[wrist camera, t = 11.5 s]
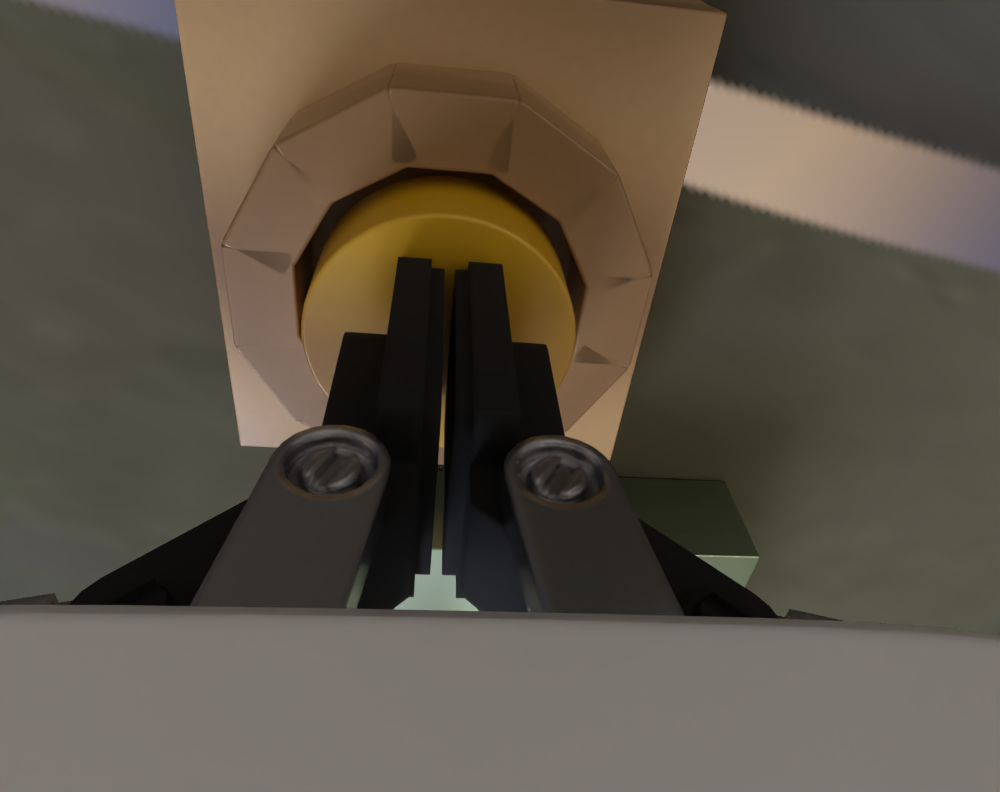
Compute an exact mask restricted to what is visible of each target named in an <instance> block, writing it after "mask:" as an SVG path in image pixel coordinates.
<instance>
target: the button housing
mask: <svg viewBox="0 0 1000 792" xmlns="http://www.w3.org/2000/svg"><path fill="white" fill-rule="evenodd" d="M174 2H175V9H176V16H177V23H178V29H179V36H180V43H181V50H182V56H183V63H184V70H185V76H186V83H187V90H188V97H189V103H190V110H191V117H192V123H193V130H194V137H195V144H196V150H197V157H198V164H199V170H200V177H201V184H202V191H203V197H204V204H205V211H206V217H207V224H208V231H209V238H210V244H211V251H212V258H213V264H214V271H215V278H216V285H217V291H218V298H219V305H220V311H221V318H222V325H223V332H224V338H225V345H226V352H227V358H228V365H229V372H230V379H231V385H232V392H233V399H234V405H235V412H236V419H237V426H238V432H239V439H240V445H241V446H257V447H279V446H280V444H281V443H282V442H283V441H285V440H286V439H288V438H289V437H291V436H292V435H294V434H295V433H298V432H301V431H303V430H306V429H309V428H312V427H318V426H322V423H323V419H324V415H325V410H326V406H327V402H328V397H327V396H326V395H325V394H324V392H323V391H322V389H321V388H320V386H319V385H318V383H317V382H316V380H315V378H314V376H313V374H312V372H311V370H310V368H309V365H308V363H307V359H306V356H305V353H304V349H303V342H302V336H301V319H302V312H303V306H304V302H305V299H306V296H307V293H308V290H309V287H310V284H311V281H312V278H313V275H314V272H315V269H316V267H317V264H318V261H319V258H320V255H321V252H322V249H323V246H324V244H325V242H326V240H327V238H328V236H329V234H330V232H331V231H332V229H333V228H334V227H335V225H336V224H337V222H338V221H339V220H340V218H341V217H342V216H343V215H344V214H345V213H346V212H347V211H348V210H349V209H350V208H351V207H352V206H354V205H355V204H356V203H358V202H359V201H360V200H361V199H363V198H364V197H366V196H367V195H369V194H371V193H373V192H374V191H376V190H378V189H380V188H382V187H385V186H387V185H390V184H392V183H395V182H398V181H402V180H406V179H410V178H416V177H425V176H451V177H458V178H465V179H469V180H473V181H476V182H480V183H483V184H486V185H488V186H490V187H493V188H495V189H497V190H500V191H501V192H503V193H505V194H506V195H508V196H510V197H511V198H513V199H515V200H516V201H517V202H518V203H520V204H521V205H522V206H523V207H525V208H526V209H527V210H528V211H529V212H530V213H531V214H532V215H533V216H534V217H535V218H536V219H537V220H538V221H539V222H540V224H541V225H542V227H543V228H544V229H545V231H546V232H547V234H548V235H549V237H550V239H551V241H552V243H553V245H554V247H555V249H556V252H557V255H558V257H559V260H560V263H561V267H562V270H563V274H564V277H565V281H566V284H567V288H568V291H569V294H570V298H571V301H572V305H573V310H574V315H575V323H576V339H575V347H574V353H573V356H572V360H571V363H570V366H569V369H568V371H567V373H566V375H565V378H564V380H563V381H562V383H561V385H560V386H559V388H558V389H557V391H556V393H557V398H558V403H559V408H560V414H561V419H562V424H563V429H564V434H565V436H566V437H570V438H574V439H578V440H580V441H582V442H584V443H587V444H589V445H591V446H593V447H594V448H596V449H597V450H598V451H599V452H601V453H602V454H603V455H604V456H606V458H607V459H608V460H610V459H611V455H612V452H613V448H614V444H615V440H616V436H617V433H618V429H619V425H620V421H621V417H622V414H623V410H624V406H625V402H626V398H627V395H628V391H629V387H630V383H631V379H632V375H633V372H634V368H635V364H636V360H637V356H638V353H639V349H640V345H641V341H642V337H643V334H644V330H645V326H646V322H647V318H648V315H649V311H650V307H651V303H652V299H653V295H654V292H655V288H656V284H657V280H658V276H659V273H660V269H661V265H662V261H663V257H664V254H665V250H666V246H667V242H668V238H669V235H670V231H671V227H672V223H673V219H674V215H675V212H676V208H677V204H678V200H679V196H680V193H681V189H682V185H683V181H684V177H685V174H686V170H687V166H688V162H689V158H690V155H691V151H692V147H693V143H694V139H695V136H696V132H697V128H698V124H699V120H700V116H701V113H702V109H703V105H704V101H705V97H706V93H707V90H708V86H709V82H710V78H711V75H712V71H713V67H714V63H715V59H716V56H717V52H718V48H719V44H720V40H721V36H722V33H723V29H724V25H725V21H726V17H727V14H726V13H725V12H722V11H720V10H718V9H716V8H714V7H712V6H710V5H708V4H706V3H704V2H702V1H700V0H174ZM438 465H444V447H439V455H438Z"/></svg>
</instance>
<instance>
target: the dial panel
mask: <svg viewBox="0 0 1000 792" xmlns="http://www.w3.org/2000/svg"><path fill="white" fill-rule="evenodd" d="M443 473H444V471H437V484H436V498H435V512H434V527H433V541H432V555H431V569H430V575H418V574H415V586H414V597H409V598H407V599H406V600H405V601H403V602H402V603H401V604H399V605H398V606H397V607H395V608H394V609H395V610H447V611H479V610H478V609H477V608H476V607H474V606H473V605H472V604H471V603H470V602H469V601H467V600H466V599H465V598H456V575H442V531H443ZM618 478H619V477H618ZM619 480H620V482H621V484H622V486H623V488H624V490H625V492H626V494H627V496H628V499H629V501H630V503H631V505H632V507H633V509H634V511H635V513H636V515H637V517H638V518H639V519H641V520H642V521H644V522H645V523H647V524H648V525H650V526H651V527H653V528H654V529H656V530H658V531H659V532H661V533H662V534H664V535H665V536H667V537H668V538H670V539H671V540H673V541H674V542H676V543H677V544H679V545H680V546H682V547H684V548H685V549H687V550H688V551H690V552H691V553H693V554H694V555H696V556H697V557H699V558H700V559H702V560H703V561H705V562H707V563H708V564H710V565H711V566H713V567H714V568H716V569H717V570H719V571H720V572H722V573H723V574H725V575H726V576H728V577H729V578H731V579H733V580H734V581H736V582H737V583H739V584H740V585H742V586H743V587H746V585H747V583H748V581H749V578H750V576H751V574H752V572H753V570H754V568H755V566H756V564H757V562H758V560H759V555H758V553H757V551H756V548H755V546H754V544H753V542H752V540H751V537H750V535H749V533H748V531H747V529H746V527H745V524H744V522H743V520H742V518H741V516H740V513H739V511H738V509H737V507H736V505H735V503H734V500H733V498H732V496H731V494H730V492H729V489H728V487H727V485H726V483H725V482H724V481H699V480H672V479H646V478H619Z"/></svg>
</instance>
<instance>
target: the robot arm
mask: <svg viewBox="0 0 1000 792" xmlns="http://www.w3.org/2000/svg"><path fill="white" fill-rule="evenodd" d="M444 280H445V269H440V268H432V259H426V258H412V257H398V262H397V268H396V275H395V282H394V289H393V296H392V303H391V310H390V317H389V324H388V331H387V334H374V333H358V332H345V333H344V336H343V339H342V343H341V347H340V352H339V356H338V360H337V364H336V368H335V373H334V377H333V381H332V385H331V389H330V394H329V398H328V402H327V406H326V410H325V415H324V419H323V423H322V426H318V427H312V428H309V429H306V430H303V431H301V432H298V433H295V434H294V435H292V436H291V437H289V438H288V439H286V440H285V441H283V442H282V443H281V444H280V446H279V447H278V448H277V449H276V451H275V452H274V453H273V454H272V456H271V458H270V460H269V462H268V464H267V465H266V467H265V469H264V471H263V473H262V475H261V476H260V478H259V480H258V482H257V484H256V486H255V487H254V489H253V491H252V493H251V495H250V496H249V498H248V499H247V500H245V501H243V502H242V503H240V504H238V505H236V506H234V507H232V508H230V509H229V510H227V511H225V512H223V513H221V514H219V515H217V516H215V517H214V518H212V519H210V520H208V521H206V522H204V523H202V524H201V525H199V526H197V527H195V528H193V529H191V530H189V531H188V532H186V533H184V534H182V535H180V536H178V537H176V538H175V539H173V540H171V541H169V542H167V543H165V544H163V545H162V546H160V547H158V548H156V549H154V550H152V551H150V552H149V553H147V554H145V555H143V556H141V557H139V558H137V559H136V560H134V561H132V562H130V563H128V564H126V565H124V566H123V567H121V568H119V569H117V570H115V571H113V572H111V573H109V574H108V575H106V576H104V577H102V578H100V579H99V580H98V581H96V582H95V583H93V584H92V585H90V586H89V587H87V588H86V589H84V590H83V591H81V592H80V594H79V595H78V596H77V597H76V598H75V599H74V600H73V601H66V602H60V603H59V602H58V600H57V598H56V595H55V593H53V594H46V595H40V596H34V597H27V598H21V599H14V600H8V601H1V602H0V792H1000V636H999V635H993V634H986V633H978V632H971V631H964V630H957V629H951V628H944V627H931V626H915V625H899V624H886V623H872V622H852V621H842V620H837V619H833V618H828V617H824V616H819V615H814V614H810V613H805V612H801V611H796V610H792V609H789V611H788V613H787V614H786V616H785V617H781V616H777V615H776V614H775V613H774V611H773V610H772V609H771V607H770V606H769V605H767V604H766V603H765V602H764V601H762V600H761V599H760V598H759V597H758V596H756V595H755V594H754V593H752V592H751V591H749V590H748V589H746V588H745V587H743V586H742V585H740V584H739V583H737V582H736V581H734V580H733V579H731V578H729V577H728V576H726V575H725V574H723V573H722V572H720V571H719V570H717V569H716V568H714V567H713V566H711V565H710V564H708V563H707V562H705V561H703V560H702V559H700V558H699V557H697V556H696V555H694V554H693V553H691V552H690V551H688V550H687V549H685V548H684V547H682V546H680V545H679V544H677V543H676V542H674V541H673V540H671V539H670V538H668V537H667V536H665V535H664V534H662V533H661V532H659V531H658V530H656V529H654V528H653V527H651V526H650V525H648V524H647V523H645V522H644V521H642V520H641V519H639V518H638V517H637V515H636V513H635V511H634V509H633V507H632V505H631V503H630V501H629V499H628V496H627V494H626V492H625V490H624V488H623V486H622V484H621V482H620V480H619V478H618V476H617V473H616V471H615V469H614V467H613V466H612V465H611V463H610V462H609V460H608V459H607V458H606V456H604V455H603V454H602V453H601V452H599V451H598V450H597V449H596V448H594V447H593V446H591V445H589V444H587V443H584V442H582V441H580V440H578V439H574V438H570V437H566V436H565V434H564V429H563V424H562V419H561V414H560V408H559V403H558V398H557V393H556V388H555V383H554V378H553V373H552V368H551V363H550V358H549V353H548V349H547V345H545V344H538V343H522V342H512V337H511V329H510V321H509V313H508V305H507V297H506V289H505V281H504V273H503V266H502V264H494V263H481V262H469V264H468V270H455V278H454V291H453V305H452V318H451V332H450V346H449V359H448V373H447V386H446V400H445V418H444V473H443V531H442V575H456V598H465V599H466V600H467V601H469V602H470V603H471V604H472V605H473V606H474V607H476V608H477V609H478V610H479V611H447V610H395V609H394V608H395V607H397V606H398V605H399V604H401V603H402V602H403V601H405V600H406V599H407V598H409V597H414V586H415V574H418V575H430V569H431V555H432V541H433V527H434V512H435V498H436V484H437V470H438V455H439V441H440V426H441V407H442V368H443V324H444Z"/></svg>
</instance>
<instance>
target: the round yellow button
mask: <svg viewBox="0 0 1000 792" xmlns="http://www.w3.org/2000/svg"><path fill="white" fill-rule="evenodd" d="M398 257H412V258H426V259H432V268H440V269H445V280H444V324H443V368H442V407H441V426H440V441H439V447H444V418H445V400H446V386H447V373H448V359H449V346H450V332H451V318H452V305H453V291H454V278H455V270H468V264H469V262H481V263H494V264H502V266H503V273H504V281H505V289H506V297H507V305H508V313H509V321H510V329H511V337H512V342H522V343H538V344H545V345H547V349H548V353H549V358H550V363H551V368H552V373H553V378H554V383H555V388H556V391H557V389H558V388H559V386H560V385H561V383H562V381H563V380H564V378H565V375H566V373H567V371H568V369H569V366H570V363H571V360H572V356H573V353H574V347H575V339H576V323H575V315H574V310H573V305H572V301H571V298H570V294H569V291H568V288H567V284H566V281H565V277H564V274H563V270H562V267H561V263H560V260H559V257H558V255H557V252H556V249H555V247H554V245H553V243H552V241H551V239H550V237H549V235H548V234H547V232H546V231H545V229H544V228H543V227H542V225H541V224H540V222H539V221H538V220H537V219H536V218H535V217H534V216H533V215H532V214H531V213H530V212H529V211H528V210H527V209H526V208H525V207H523V206H522V205H521V204H520V203H518V202H517V201H516V200H515V199H513V198H511V197H510V196H508V195H506V194H505V193H503V192H501V191H500V190H497V189H495V188H493V187H490V186H488V185H486V184H483V183H480V182H476V181H473V180H469V179H465V178H458V177H451V176H425V177H416V178H410V179H406V180H402V181H398V182H395V183H392V184H390V185H387V186H385V187H382V188H380V189H378V190H376V191H374V192H373V193H371V194H369V195H367V196H366V197H364V198H363V199H361V200H360V201H359V202H358V203H356V204H355V205H354V206H352V207H351V208H350V209H349V210H348V211H347V212H346V213H345V214H344V215H343V216H342V217H341V218H340V220H339V221H338V222H337V224H336V225H335V227H334V228H333V229H332V231H331V232H330V234H329V236H328V238H327V240H326V242H325V244H324V246H323V249H322V252H321V255H320V258H319V261H318V264H317V267H316V269H315V272H314V275H313V278H312V281H311V284H310V287H309V290H308V293H307V296H306V299H305V302H304V306H303V312H302V319H301V336H302V342H303V349H304V353H305V356H306V359H307V363H308V365H309V368H310V370H311V372H312V374H313V376H314V378H315V380H316V382H317V383H318V385H319V386H320V388H321V389H322V391H323V392H324V394H325V395H326V396H327V397H328V398H329V394H330V389H331V385H332V381H333V377H334V373H335V368H336V364H337V360H338V356H339V352H340V347H341V343H342V339H343V336H344V333H345V332H358V333H374V334H387V331H388V324H389V317H390V310H391V303H392V296H393V289H394V282H395V275H396V268H397V262H398Z"/></svg>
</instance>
